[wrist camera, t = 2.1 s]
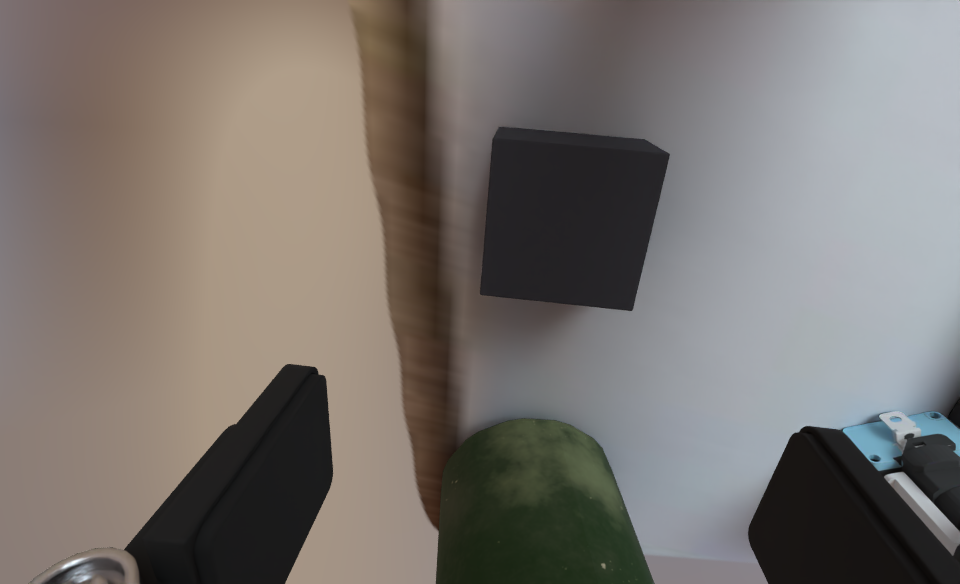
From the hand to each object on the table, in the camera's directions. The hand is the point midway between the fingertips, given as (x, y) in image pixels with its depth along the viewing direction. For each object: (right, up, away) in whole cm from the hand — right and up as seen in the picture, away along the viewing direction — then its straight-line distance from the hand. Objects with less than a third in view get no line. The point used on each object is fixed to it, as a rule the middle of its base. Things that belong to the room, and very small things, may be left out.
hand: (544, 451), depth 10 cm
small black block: (+3, +7, +13) cm, 15 cm away
